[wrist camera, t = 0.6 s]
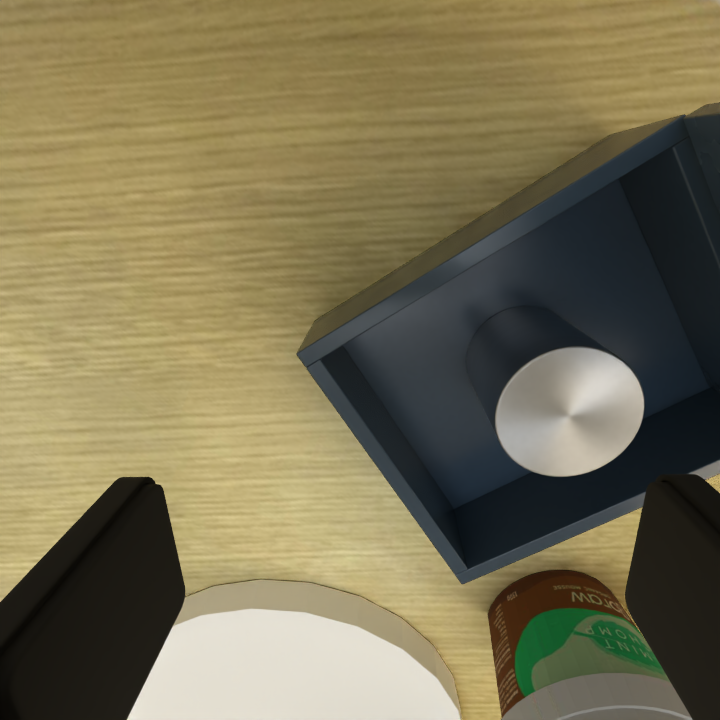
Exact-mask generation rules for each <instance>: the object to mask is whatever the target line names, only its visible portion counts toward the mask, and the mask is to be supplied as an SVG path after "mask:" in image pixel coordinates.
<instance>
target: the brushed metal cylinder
mask: <svg viewBox="0 0 720 720" xmlns="http://www.w3.org/2000/svg"><path fill="white" fill-rule="evenodd" d="M466 366H467V372H468V376H469V379H470V381H471V383H472V385H473V387H474V389H475V391H476V394H477V396H478V398H479V400H480V402H481V404H482V406H483V408H484V410H485V413H486V415H487V417H488V419H489V421H490V423H491V425H492V427H493V430H494V432H495V434H496V436H497V438H498V440H499V442H500V444H501V446H502V448H503V449H504V451H505V452H506V453H507V455H508V456H509V457H510V458H511V459H512V460H513V461H515V462H516V463H517V464H519V465H520V466H522V467H523V468H525V469H527V470H530V471H532V472H534V473H537V474H541V475H546V476H552V477H569V476H576V475H581V474H585V473H588V472H591V471H593V470H596V469H598V468H600V467H602V466H604V465H606V464H607V463H609V462H611V461H612V460H614V459H615V458H616V457H617V456H618V455H620V454H621V453H622V452H623V451H624V450H625V449H626V448H627V447H628V445H629V444H630V443H631V442H632V440H633V439H634V437H635V435H636V434H637V432H638V430H639V428H640V425H641V423H642V419H643V416H644V408H645V398H644V392H643V388H642V385H641V382H640V380H639V378H638V376H637V374H636V373H635V372H634V370H633V369H632V368H631V366H630V365H628V364H627V363H626V362H625V361H624V360H623V359H621V358H620V357H618V356H617V355H615V354H614V353H613V352H611V351H610V350H608V349H607V348H605V347H604V346H602V345H601V344H599V343H598V342H596V341H595V340H593V339H592V338H590V337H589V336H588V335H586V334H585V333H583V332H582V331H580V330H579V329H577V328H576V327H574V326H573V325H571V324H570V323H568V322H567V321H565V320H564V319H562V318H561V317H560V316H558V315H557V314H555V313H553V312H551V311H549V310H547V309H544V308H540V307H535V306H519V307H514V308H510V309H507V310H504V311H502V312H500V313H498V314H496V315H494V316H493V317H491V318H490V319H489V320H487V321H486V322H485V323H484V324H483V325H482V326H481V327H480V328H479V329H478V331H477V332H476V333H475V335H474V337H473V338H472V340H471V343H470V345H469V348H468V352H467V358H466Z"/></svg>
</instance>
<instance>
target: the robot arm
mask: <svg viewBox="0 0 720 720" xmlns="http://www.w3.org/2000/svg"><path fill="white" fill-rule="evenodd" d="M184 599H185V585H184V580H183V576H182V572H181V567H180V563H179V558H178V554H177V549H176V545H175V540H174V536H173V531H172V527H171V522H170V518H169V513H168V509H167V504H166V500H165V495H164V491H163V488H162V487H161V485H158V484H155V481H154V480H153V479H152V478H150V477H122V478H119V479H117V480H116V481H115V482H114V483H113V484H112V485H111V486H110V487H109V488H108V489H107V490H106V491H105V492H104V493H103V495H102V496H101V497H100V498H99V499H98V500H97V501H96V502H95V503H94V504H93V505H92V506H91V507H90V508H89V509H88V510H87V511H86V512H85V513H84V515H83V516H82V517H81V518H80V519H79V520H78V521H77V522H76V523H75V524H74V525H73V526H72V527H71V528H70V529H69V530H68V531H67V532H66V534H65V535H64V536H63V537H62V538H61V539H60V540H59V541H58V542H57V543H56V544H55V545H54V546H53V547H52V548H51V549H50V550H49V551H48V553H47V554H46V555H45V556H44V557H43V558H42V559H41V560H40V561H39V562H38V563H37V564H36V565H35V566H34V567H33V568H32V569H31V570H30V572H29V573H28V574H27V575H26V576H25V577H24V578H23V579H22V580H21V581H20V582H19V583H18V584H17V585H16V586H15V587H14V588H13V589H12V591H11V592H10V593H9V594H8V595H7V596H6V597H5V598H4V599H3V600H2V601H1V602H0V720H127V718H128V716H129V714H130V712H131V710H132V708H133V706H134V704H135V702H136V700H137V698H138V696H139V694H140V692H141V690H142V688H143V686H144V684H145V682H146V680H147V678H148V676H149V674H150V672H151V670H152V668H153V666H154V664H155V662H156V660H157V658H158V656H159V653H160V651H161V649H162V647H163V645H164V643H165V641H166V639H167V637H168V635H169V633H170V631H171V629H172V627H173V625H174V623H175V621H176V619H177V617H178V615H179V613H180V611H181V609H182V606H183V603H184ZM625 599H626V604H627V607H628V610H629V612H630V614H631V616H632V618H633V620H634V621H635V623H636V625H637V626H638V628H639V630H640V631H641V633H642V635H643V636H644V638H645V640H646V642H647V643H648V645H649V647H650V648H651V650H652V652H653V653H654V655H655V657H656V658H657V660H658V662H659V664H660V665H661V667H662V669H663V670H664V672H665V674H666V675H667V677H668V679H669V680H670V682H671V684H672V685H673V687H674V689H675V691H676V692H677V694H678V696H679V697H680V699H681V701H682V702H683V704H684V706H685V707H686V709H687V711H688V713H689V714H690V716H691V718H692V719H693V720H720V493H719V492H718V491H717V490H715V489H714V488H713V487H712V486H711V485H710V484H709V483H707V482H706V481H705V480H704V479H703V478H701V477H700V476H698V475H695V474H662V475H659V476H658V477H657V479H656V481H655V482H652V483H650V484H649V485H648V486H647V489H646V494H645V498H644V503H643V508H642V513H641V518H640V523H639V528H638V532H637V537H636V542H635V547H634V552H633V557H632V561H631V566H630V571H629V576H628V581H627V586H626V591H625Z"/></svg>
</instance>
